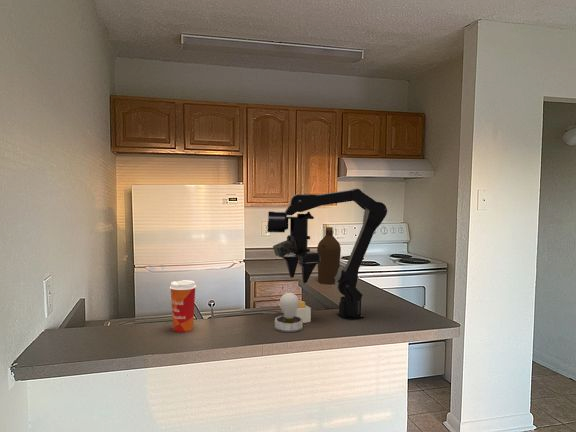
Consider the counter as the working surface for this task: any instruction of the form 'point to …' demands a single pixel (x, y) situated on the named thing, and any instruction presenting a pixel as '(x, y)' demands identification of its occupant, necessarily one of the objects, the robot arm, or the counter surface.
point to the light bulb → (289, 306)
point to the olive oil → (328, 258)
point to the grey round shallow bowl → (288, 324)
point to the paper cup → (183, 305)
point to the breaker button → (301, 304)
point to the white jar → (304, 314)
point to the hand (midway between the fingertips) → (298, 280)
